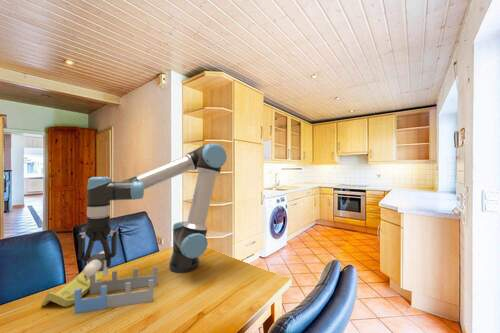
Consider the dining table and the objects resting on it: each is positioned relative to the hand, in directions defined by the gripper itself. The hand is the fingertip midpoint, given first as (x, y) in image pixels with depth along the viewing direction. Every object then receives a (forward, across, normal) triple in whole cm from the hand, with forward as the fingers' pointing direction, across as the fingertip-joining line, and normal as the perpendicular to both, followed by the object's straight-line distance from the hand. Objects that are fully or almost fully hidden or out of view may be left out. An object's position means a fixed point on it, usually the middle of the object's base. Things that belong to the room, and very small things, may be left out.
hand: (97, 276), depth 85 cm
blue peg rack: (+9, -8, 0) cm, 12 cm away
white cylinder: (-3, 0, 0) cm, 3 cm away
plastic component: (+10, +10, -8) cm, 16 cm away
